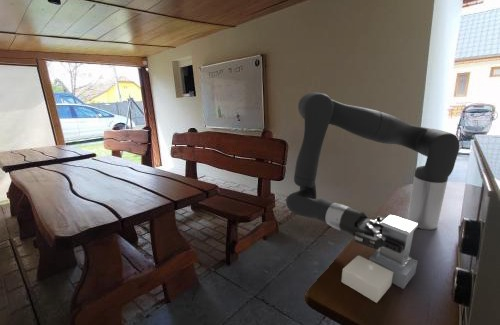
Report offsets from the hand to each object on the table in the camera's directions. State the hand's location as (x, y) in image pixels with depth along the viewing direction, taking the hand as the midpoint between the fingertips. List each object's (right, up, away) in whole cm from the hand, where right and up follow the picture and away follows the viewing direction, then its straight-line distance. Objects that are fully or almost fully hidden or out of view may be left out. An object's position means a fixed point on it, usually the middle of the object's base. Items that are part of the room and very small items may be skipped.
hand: (407, 243), depth 65 cm
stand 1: (-10, -10, +1) cm, 14 cm away
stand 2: (-1, -9, +5) cm, 10 cm away
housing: (-1, -5, +4) cm, 6 cm away
